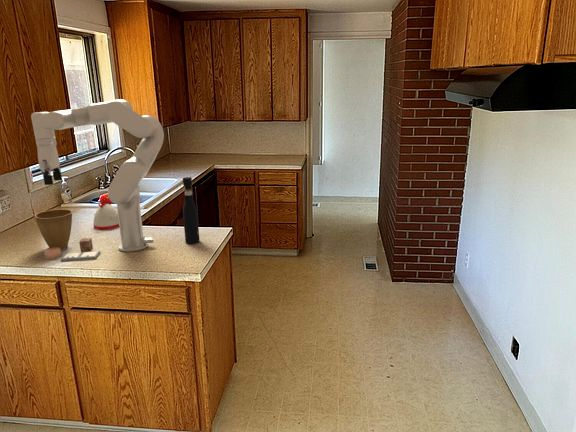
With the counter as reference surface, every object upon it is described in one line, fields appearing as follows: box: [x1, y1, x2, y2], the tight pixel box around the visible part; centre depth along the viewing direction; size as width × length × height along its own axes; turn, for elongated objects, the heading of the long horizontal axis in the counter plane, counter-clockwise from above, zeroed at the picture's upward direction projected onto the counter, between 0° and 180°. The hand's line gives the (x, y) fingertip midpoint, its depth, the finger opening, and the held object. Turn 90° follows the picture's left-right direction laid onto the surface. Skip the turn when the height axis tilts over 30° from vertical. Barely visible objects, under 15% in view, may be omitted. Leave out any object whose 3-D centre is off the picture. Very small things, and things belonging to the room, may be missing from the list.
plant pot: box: [34, 208, 73, 250], centre depth 204 cm, size 15×15×16 cm
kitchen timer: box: [92, 196, 119, 231], centre depth 235 cm, size 14×14×15 cm
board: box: [60, 250, 101, 262], centre depth 193 cm, size 14×7×1 cm, turn 98°
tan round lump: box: [44, 247, 62, 261], centre depth 194 cm, size 6×6×4 cm
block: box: [78, 237, 94, 252], centre depth 200 cm, size 4×4×5 cm
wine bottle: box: [182, 176, 200, 245], centre depth 204 cm, size 6×6×30 cm
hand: (53, 182), depth 194 cm, fingers open, 9 cm apart
